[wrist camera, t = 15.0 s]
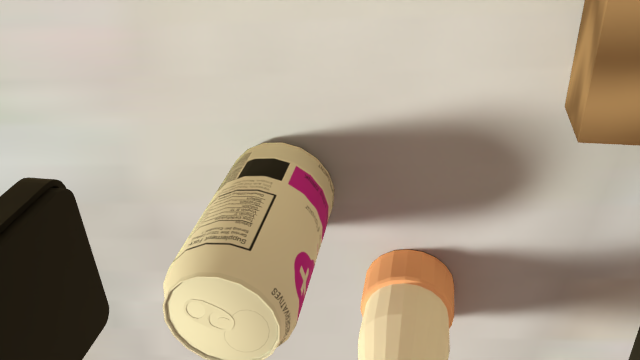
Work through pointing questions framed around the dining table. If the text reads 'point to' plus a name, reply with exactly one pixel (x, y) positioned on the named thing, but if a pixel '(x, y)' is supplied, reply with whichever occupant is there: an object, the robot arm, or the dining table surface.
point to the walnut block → (606, 74)
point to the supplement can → (250, 256)
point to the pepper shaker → (406, 308)
